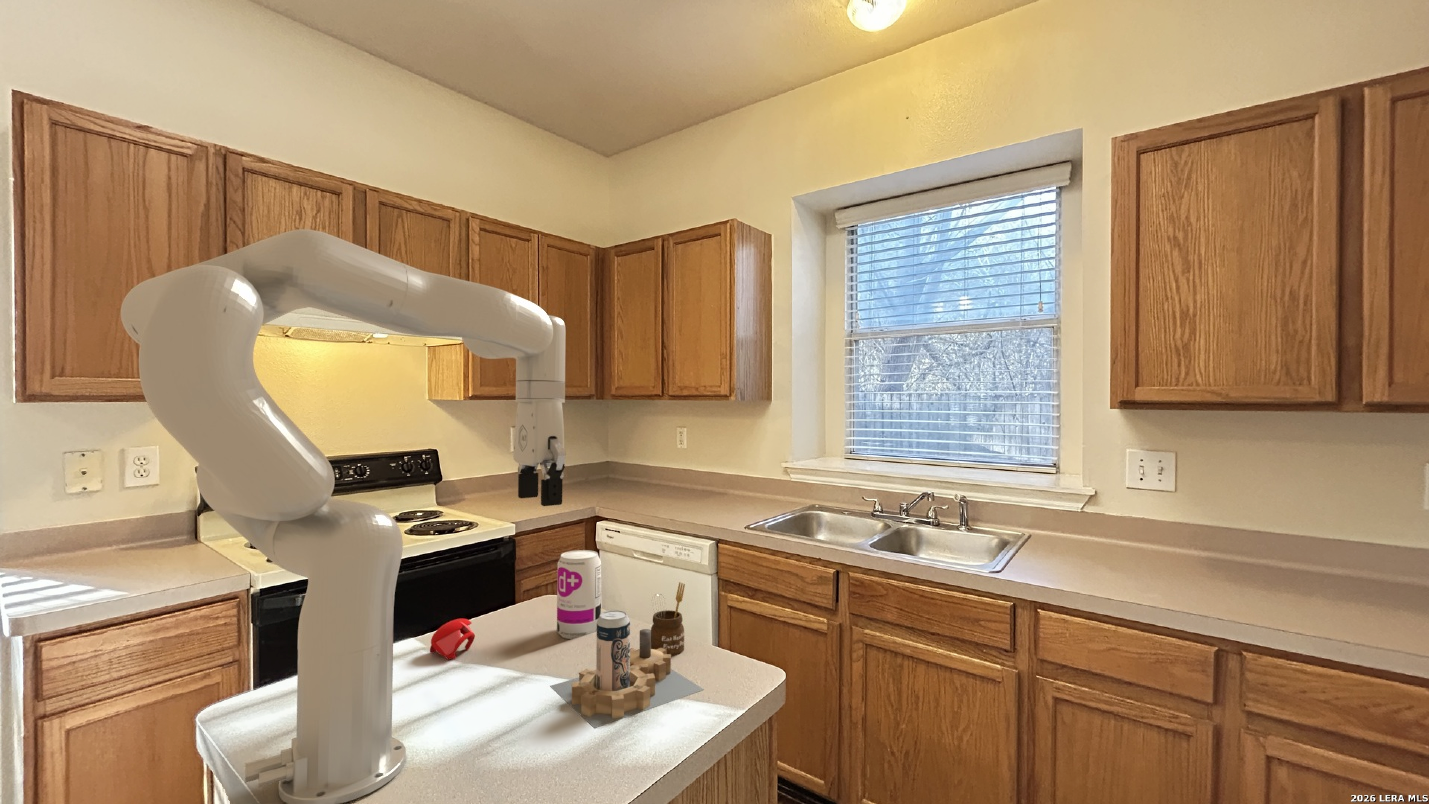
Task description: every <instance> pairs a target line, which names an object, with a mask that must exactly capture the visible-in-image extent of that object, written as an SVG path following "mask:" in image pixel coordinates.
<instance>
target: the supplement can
mask: <svg viewBox="0 0 1429 804" xmlns="http://www.w3.org/2000/svg"><path fill="white" fill-rule="evenodd" d="M600 558H601V557H600V556H599V553H598V552H597V551H594V550H590V549H589V550H587V549H583V550H580V549H579V550H570V551H565V552H562V553H561V554H560V557H559V559H558V562H557V575H556V577H557V582H556V583H557V584H556V585H557V586H556V589H557V590H556V591H557V592H556V596H557V597H556V601H557V602H556V632H557V633H558V634H559V636H561V637H562V638H564V639H568V640H574V639H578V638H581V637H583V636H587V635H590V634H593V633H597V620H598V618H599V616H600V614H602V613H601V612H602V611H601V610H602V604H601V601H602V561H601V559H600Z"/></svg>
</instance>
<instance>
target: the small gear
mask: <svg viewBox="0 0 1429 804" xmlns="http://www.w3.org/2000/svg"><path fill="white" fill-rule="evenodd" d="M633 664H637V665H639V667H640V666H641V671H642V672H643V673H645V674H651V673H654V676H655V680H657V681H661V680H663V679H666V674H671V669H672V667H671V666H672V656H671V654H667V650H666V649H663V648H659V649H656V650H655V649H651V629H648V628H645V629H644V628H642V629H640V630H639V649H635V648H633V647H632V648H631V647H630V666H632V665H633Z"/></svg>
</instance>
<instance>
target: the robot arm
mask: <svg viewBox="0 0 1429 804" xmlns="http://www.w3.org/2000/svg"><path fill="white" fill-rule="evenodd" d="M308 308H312V309H317V310H320V311H324V312H328V313H330V314H334V315H337V316H341V317H346V318H348V319H352V320H355V321H359V322H363V323H366V324H370V325H374V326H376V327H379V328H382V329H387V330H389V331H392V332H396V333H399V334H406V335H412V336H419V337H420V336H421V337H448V338H449V337H450V338H451V337H453V338H461V339H462V342H463V344H464V346H465V347H466V349H468V351H469V352H470V353H472V354H474V355H475V356H477V357H480V358H483V359H488V360H493V359H495V360H497V359H515V363H516V364H515V365H516V366H515V403H517V405H516V407H517V408H516V413H515V423H514V424H515V425H514V437H513V452H512V453H513V454H512V455H513V461H514V462H515V463H517V464H518V467H517V472H518V476H517V478H518V480H517V481H518V482H517V483H518V484H517V498H519V499H529V498H530V499H531V498H537V497H539V472H537V471H538V467H540V469H541V472H542V476H543V479H542V478H541V479H540V505H541V506H542V507H550V506H561V505H562V504H563V479H564V477H565V474H564V470H565V468H566V465H565V462H566V456H567V453H566V450H565V425H564V412H563V403H564V404H565V403H566V402H565V401H566V340H567V339H566V337H567V336H566V332H567V331H566V325H565V324H566V323H565V322H564V320H563V319H562V318H560V317H558V316H555V315H549V314H547V313H546V311H545V310H544V309H543V308H542V307H540V306H539V305H538V304H536V303H534V302H533V301H530V300H528V299H526V298H523V297H521V296H518V295H516V294H514V293H511V292H509V291H506V290H504V289H501V288H497V287H495V286H490V285H486V284H482V283H479V282H474V281H469V280H464V279H459V278H456V277H452V276H448V275H443V274H439V273H434V272H428V271H425V270H422V269H420V268H416V267H414V266H411V265H408V264H406V263H404V262H401V261H399V260H395V259H393V258H391V257H388V256H385V255H383V254H380V253H378V252H376V251H372V250H370V249H367V248H365V247H362V246H360V245H357V244H355V243H352V242H350V241H348V240H345V239H343V238H340V237H337V236H335V235H332V234H329V233H326V232H324V231H320V230H314V229H307V228H302V229H301V228H300V229H293V230H290V231H286V232H282V233H279V234H275V235H273V236H270V237H268V238H264V239H261V240H258V241H256V242H253V243H251V244H248V245H246V246H244V247H241V248H238V249H236V250H233V251H231V252H228V253H225V254H222V255H219V256H216V257H214V258H211V259H208V260H205V261H202V262H199V263H196V264H193V265H189V266H185V267H181V268H178V269H174V270H172V271H171V270H170V271H168V272H166V273H163V274H161V275H158V276H155V277H152V278H149V279H146V280H144V281H141V282H139V283H138V284H136V286H134V287H133V288H131V290H129V292H128V293H127V294H126V296H125V297H124V299H123V300H122V303H121V307H120V320H121V322H122V325H123V329H124V330H125V331H126V332H127V334H128V336H129V337H130V338H131V339H132V340H133V341H134V342H135V343H136V344H138V345H139V349H138V350H139V351H138V352H139V353H138V372H139V373H138V374H139V381H140V386H141V390H142V394H143V396H144V399H145V401H146V403H147V405H148V407H149V408H150V411H151V412H152V414H153V415H154V416H155V418H156V420H157V421H158V422H159V423H160V424H161V426H162V427H163V428H164V429H165V430H166V431H167V432H168V433H169V434H170V435H171V437H173V439H174V440H175V441H176V442H177V443H178V444H180V446H182V448H183V449H184V450H185V451H186V452H187V453H188V454H189V455H190V456H191V457H192V458H193V460H195V461H196V462H197V463H198V464H197V468H196V485H197V487H198V491H199V493H200V494H201V496H202V499H203V500H204V501H205V503H206V504H207V505H208V506H209V507H210V508H211V509H212V510H213V511H214V512H215V513H216V514H217V515H218V516H220V518H222V519H223V521H225V522H226V523H227V524H228V525H229V526H230V527H232V529H234V530H235V531H236V532H237V533H238V534H240V535H241V537H243V538H244V539H245V540H246V541H247V542H249V544H251V545H252V546H253V547H255V549H256V550H257V551H259V552H260V553H261V554H262V555H263V556H265V557H266V558H267V559H269V560H270V561H271V562H272V563H274V564H275V565H276V566H278V567H280V568H281V569H282V570H285V571H287V572H289V573H292V574H294V575H298V576H301V577H305V578H306V579H307V581H308V582H307V589H306V592H305V596H304V599H303V602H302V604H301V605H302V606H301V609H300V612H299V613H300V614H299V620H298V627H297V628H298V629H297V679H296V680H297V682H296V683H297V690H296V691H297V694H296V737H293V738H292V739H291V747H289V748H287V749H283V750H280V754H277V755H274V756H269V757H262V758H259V759H256V760H252V761H249V762H246V763H245V766H244V767H245V768H244V769H245V771H244V774H245V776H244V783H249V782H253V781H256V780H258V788H263V787H265V786H269V785H273V784H274V783H276V782H278V795H279V796H278V797H279V798H280V800H281V801H282V802H284V803H286V804H345V803H348V802H350V801H353V800H356V799H360V798H361V797H362V798H363V797H364V796H366V795H368V794H371V793H372V792H375V791H376V790H378V789H380V788H381V787H383V786H384V785H386V784H387V783H389V782H390V781H392V779H394V778H395V777H396V776H397V775H398V774H399V773H400V771H401V770H402V769H403V767H404V765H405V764H406V758H407V752H406V751H407V750H406V746H405V744H404V743H403V742H402V741H400V740H399V739H397V738H395V737H392V736H393V735H392V733H393V727H392V726H393V676H394V675H393V671H394V670H393V669H394V668H393V667H394V664H393V663H394V660H393V659H394V607H395V592H396V587H397V580H398V575H399V571H400V566H401V562H402V555H403V548H404V547H403V546H404V545H403V543H404V542H403V535H402V532H401V529H400V527H399V525H398V523H397V521H396V520H395V519H394V518H393V517H392V516H391V515H390V514H389V513H387V512H386V511H385V510H384V509H381V508H379V507H377V506H374V505H370V504H368V503H362V502H357V501H352V500H344V499H343V500H342V499H337V498H333V497H332V494H333V492H334V488H335V481H336V480H335V479H336V478H335V473H334V469H333V467H332V464H331V462H329V460H328V458H327V457H326V455H325V454H324V453H323V452H322V451H321V450H320V448H318V447H317V445H316V444H314V443H313V441H312V440H310V438H308V436H307V435H306V434H305V433H304V432H303V431H302V430H301V429H300V428H299V427H298V426H297V424H296V423H294V421H293V420H292V419H291V418H290V417H289V416H288V414H286V413H285V412H284V411H283V410H282V408H281V407H279V405H278V404H277V403H276V402H275V400H274V399H273V397H272V396H271V395H270V394H269V393H268V391H266V388H265V387H264V386H263V384H262V383H261V381H260V380H259V378H258V375H257V372H256V369H255V364H254V351H255V350H254V349H255V344H256V341H257V338H258V335H259V334H260V331H261V329H262V326H264V325H267V323H270V322H272V321H275V320H276V319H278V318H280V317H282V316H285V315H286V314H289V313H290V312H294V311H296V310H301V309H308Z"/></svg>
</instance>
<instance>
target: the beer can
mask: <svg viewBox="0 0 1429 804" xmlns="http://www.w3.org/2000/svg"><path fill="white" fill-rule="evenodd" d="M595 648H596V658H595V660H596V661H595V662H596V663H595V664H596V665H595V666H596V667H595V670H596V689H597V690H606V691H619V690H622V689H625V688H628V687H630V649H631V619H630V618H629V615H628V614H627V612H626V611H624V610H618V609H617V610H615V609H614V610H612V609H611V610H606V611H603V612H602V613H601V614H600V616H599V618H598V620H597V631H596V647H595Z"/></svg>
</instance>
